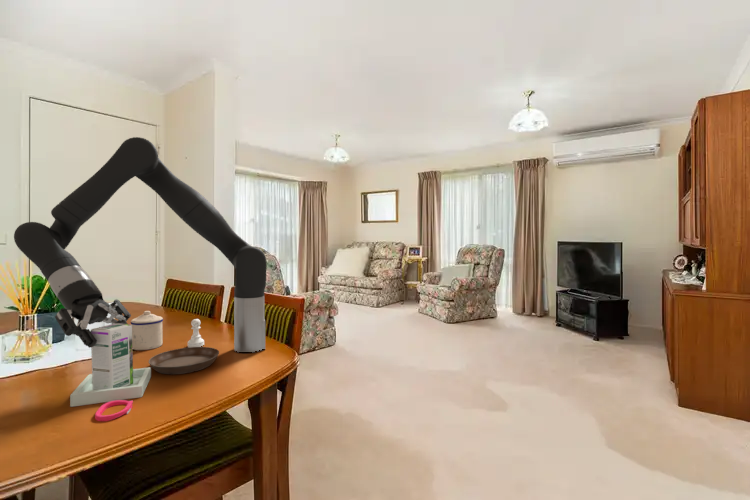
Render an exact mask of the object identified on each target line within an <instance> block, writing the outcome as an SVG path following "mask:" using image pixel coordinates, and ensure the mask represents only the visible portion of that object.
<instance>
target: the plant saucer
mask: <svg viewBox="0 0 750 500" xmlns="http://www.w3.org/2000/svg"><path fill="white" fill-rule="evenodd" d="M219 354H220V351H219V350H218V349H217V348H214V347H211V346H210V347H209V346H202V347H182V348H177V349H171V350H166V351H164V352H160V353H157V354H155V355H154V356H152V357H150V358H149V360H148V364H149V366H150V367H151V369H153V370H154V371H156V372H157V373H160V374H162V375H163V374H165V375H183V374H189V373H193V372H194V371H195V372H198V371H201V370H204V369H206V368H208V367H209V366H211V365H212V364H213V363H214V362H215V361H216V360H217V358H218V357H219ZM195 372H194V373H195Z"/></svg>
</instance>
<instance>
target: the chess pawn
mask: <svg viewBox="0 0 750 500" xmlns="http://www.w3.org/2000/svg"><path fill="white" fill-rule="evenodd" d="M190 324H191V326H192V327H191V328H190V329H191V330H193V332H192V335H191V336H190V339H189V340H188V341H187V348H189V347H201V346H202V347H204V346H205V339H203V337H202V335H201V334H200V332H199V331H200V329H201V328H202V327H201V326H200V325H201V320H200V319H199V318H194V319H192V320H191V322H190ZM203 345H204V346H203Z"/></svg>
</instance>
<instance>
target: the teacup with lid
mask: <svg viewBox="0 0 750 500" xmlns="http://www.w3.org/2000/svg"><path fill="white" fill-rule="evenodd" d="M163 322H164V318H163V317H162V316H159V315H156V314H154V313H151V311H150V310H145V311H143V313H142V314H140V315H139V316H137V317H135V318H134V317H133V319H131V320H130V325H132V350H135V351H147V350H148V351H149V350H154V349H157V348H160V347H161V346H163Z"/></svg>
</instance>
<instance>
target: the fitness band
mask: <svg viewBox="0 0 750 500" xmlns="http://www.w3.org/2000/svg"><path fill="white" fill-rule="evenodd" d="M133 403H134V400H127V399H124V400H115V401H109V402H104V403H103V404H102V405H101V406H100V407H98V409H97V410H96V412H95V414H94V419H95V421H97V422H109V421H113V420H115V419H116V418H117V419H118V418H119V417H122V416H123V415H128V414H129V413H130V412H131V410H132V409H133ZM122 405H123V406H124V405H125V407H124V408H123V409H122V410H120V411H118V412H116V413H112V414H106V415H103V414H104V412H105V411H107V409H109V408H112V407H115V406H122Z"/></svg>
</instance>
